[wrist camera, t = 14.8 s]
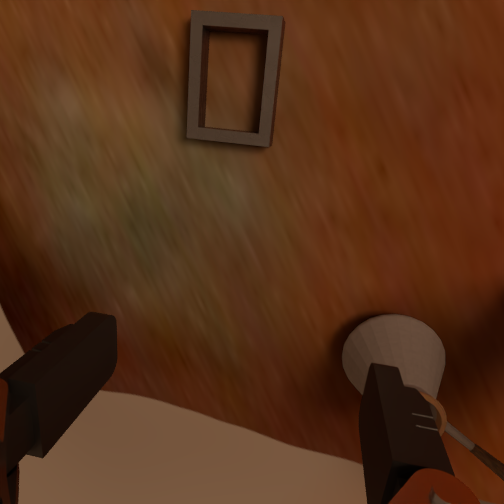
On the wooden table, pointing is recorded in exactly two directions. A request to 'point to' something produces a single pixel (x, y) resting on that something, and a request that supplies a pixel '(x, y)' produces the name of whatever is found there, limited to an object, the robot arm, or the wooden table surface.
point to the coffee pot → (406, 366)
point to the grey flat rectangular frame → (199, 68)
